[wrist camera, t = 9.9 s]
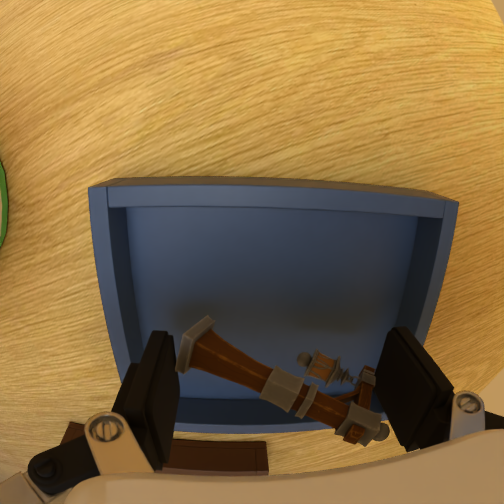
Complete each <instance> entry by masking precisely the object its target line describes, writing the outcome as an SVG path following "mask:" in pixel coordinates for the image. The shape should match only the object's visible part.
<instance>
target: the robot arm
mask: <svg viewBox="0 0 504 504" xmlns="http://www.w3.org/2000/svg"><path fill="white" fill-rule="evenodd" d="M175 366H176V354H175V346H174V338H173V335H168V331H159V330H153V331H152V332H151V335H150V337H149V340H148V342H147V345H146V347H145V350H144V353H143V355H142V358H141V361H140V363H130V365H129V367H128V370H127V372H126V375H125V377H124V380H123V382H122V385H121V387H120V390H119V392H118V395H117V398H116V400H115V403H114V405H113V408H112V411H111V412H100V413H97V414H95V415H93V416H92V417H91V418H89V419H88V421H87V422H86V424H85V428H84V431H85V434H84V435H82V436H80V437H77V438H75V439H73V440H70V441H68V442H66V443H63V444H61V445H59V446H56V447H54V448H52V449H49V450H47V451H44V452H42V453H39V454H37V455H36V456H34V457H33V458H32V459H31V460H30V462H29V464H28V471H26V472H25V473H23V474H22V473H21V471H20V472H18V473H17V474H15V475H13V476H12V477H10V478H8V479H7V480H5V481H3V482H2V483H0V504H504V417H502V416H499V415H496V414H493V413H490V412H487V411H485V410H484V403H483V401H482V399H481V398H480V397H479V396H478V395H477V394H475V393H474V392H471V391H459V392H457V393H456V394H454V392H453V389H454V387H453V385H452V384H451V383H450V381H449V380H448V379H447V377H446V376H445V375H444V373H443V372H442V371H441V369H440V368H439V367H438V365H437V364H436V363H435V362H434V360H433V359H432V358H431V356H430V355H429V354H428V353H427V351H426V350H425V349H424V348H423V346H422V345H421V344H420V342H419V341H418V340H417V339H416V337H415V336H414V335H413V334H412V333H411V331H410V330H409V329H408V328H407V327H406V326H400V327H393V328H392V329H391V331H388V333H387V336H386V339H385V343H384V346H383V349H382V352H381V356H380V359H379V362H378V365H377V368H376V371H375V374H374V376H375V377H376V381H375V386H374V388H373V389H374V391H375V393H376V395H377V397H378V399H379V401H380V403H381V406H382V408H383V410H384V412H385V414H386V416H387V418H388V420H389V422H390V424H391V426H392V428H393V430H394V433H395V435H396V437H397V439H398V441H399V443H400V445H401V446H404V447H405V449H406V452H410V451H414V450H417V449H419V448H420V450H418V451H414V452H411V453H407V454H403V455H399V456H395V457H391V458H387V459H383V460H378V461H374V462H369V463H364V464H359V465H354V466H348V467H342V468H336V469H329V470H322V471H314V472H305V473H295V474H283V475H267V476H196V475H179V474H162V473H155V471H156V470H160V471H162V469H163V463H167V464H168V462H169V457H170V451H171V444H172V438H173V432H174V426H175V420H176V414H177V409H178V403H179V397H180V383H179V376H178V371H177V372H175Z"/></svg>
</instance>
